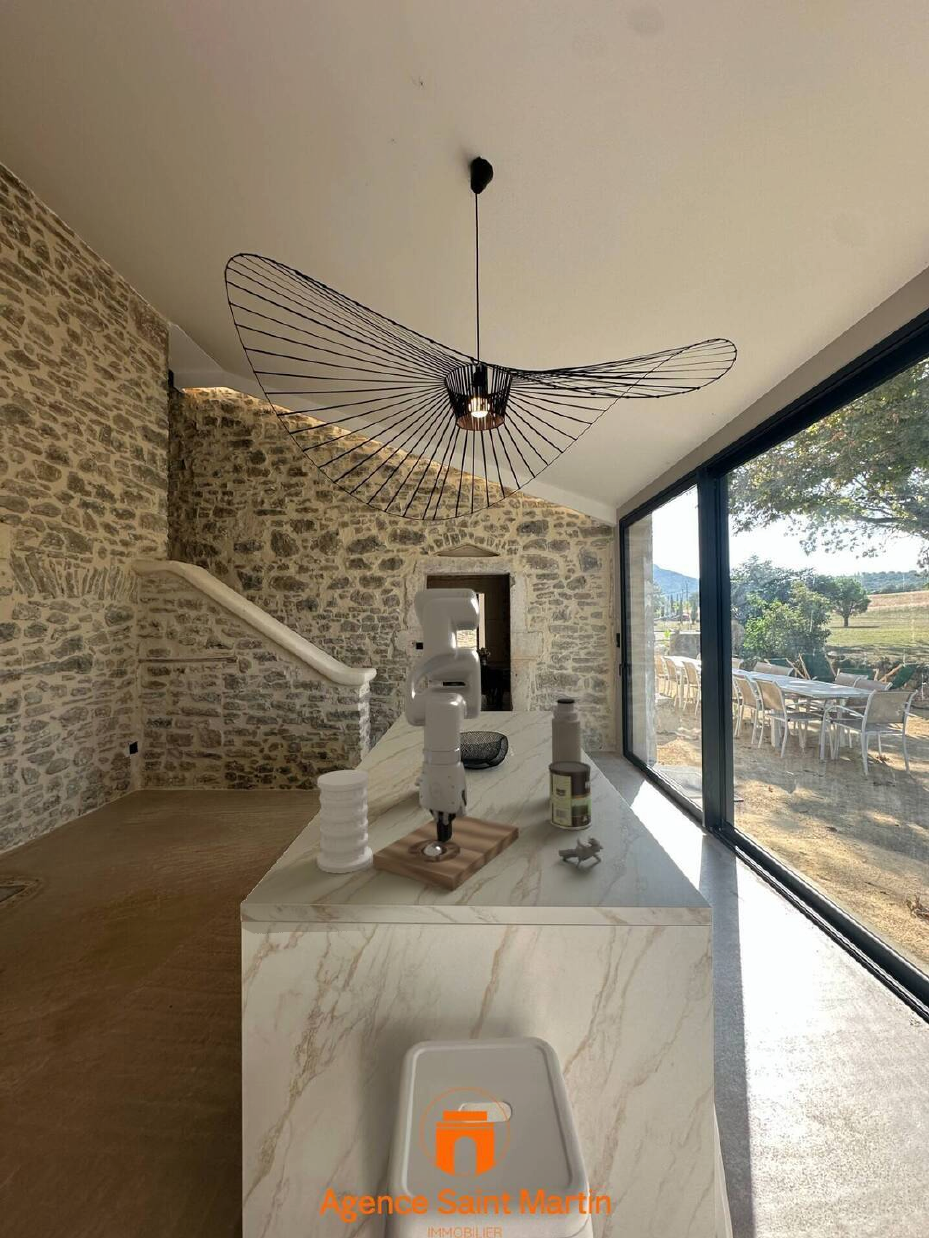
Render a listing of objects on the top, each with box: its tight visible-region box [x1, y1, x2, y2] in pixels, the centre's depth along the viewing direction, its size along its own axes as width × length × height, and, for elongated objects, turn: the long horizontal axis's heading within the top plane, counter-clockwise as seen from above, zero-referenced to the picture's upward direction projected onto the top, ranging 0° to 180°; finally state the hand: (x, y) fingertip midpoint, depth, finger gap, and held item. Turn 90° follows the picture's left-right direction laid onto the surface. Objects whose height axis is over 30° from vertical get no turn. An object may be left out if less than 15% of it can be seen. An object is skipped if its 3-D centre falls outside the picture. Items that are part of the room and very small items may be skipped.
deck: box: [372, 815, 519, 892], centre depth 120 cm, size 28×20×2 cm
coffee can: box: [548, 761, 592, 831], centre depth 135 cm, size 10×10×14 cm
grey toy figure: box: [558, 835, 604, 868], centre depth 113 cm, size 10×6×9 cm
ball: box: [423, 844, 442, 856], centre depth 114 cm, size 4×4×4 cm
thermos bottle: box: [551, 698, 582, 763], centre depth 153 cm, size 8×8×28 cm
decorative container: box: [316, 769, 373, 874], centre depth 116 cm, size 12×12×18 cm
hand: (444, 839), depth 118 cm, fingers closed
